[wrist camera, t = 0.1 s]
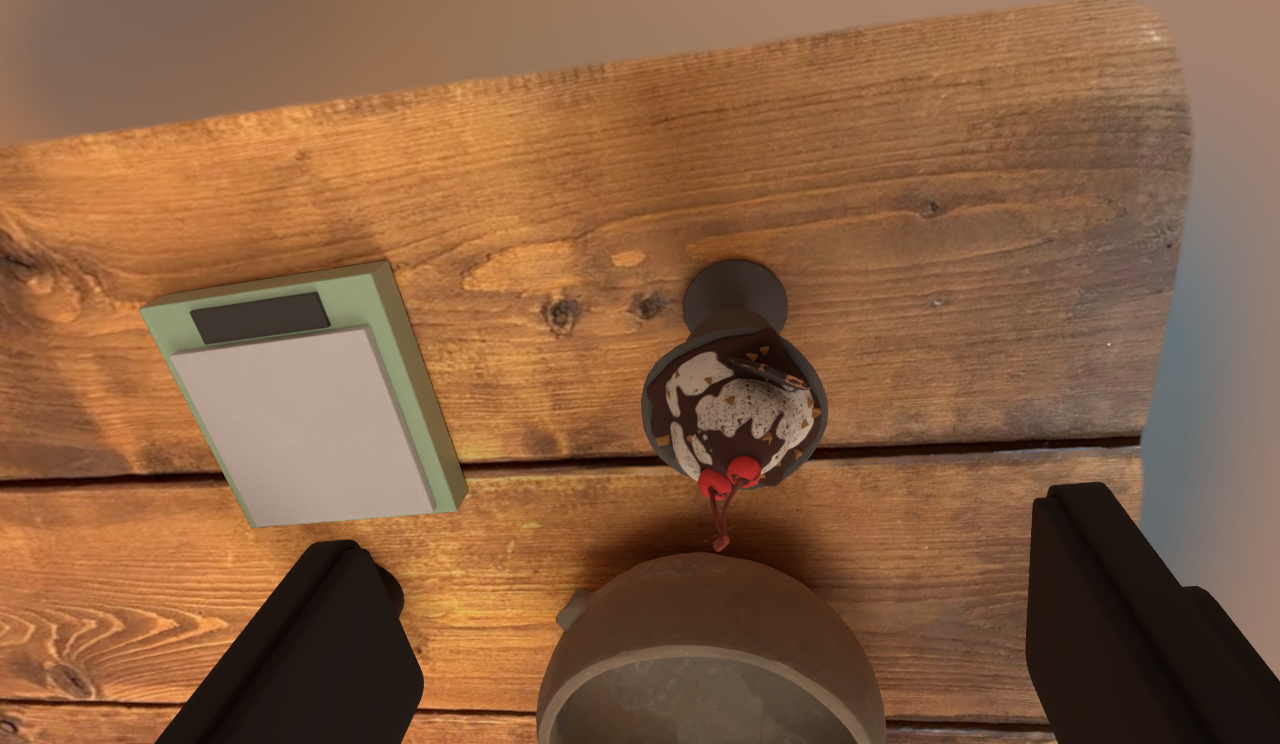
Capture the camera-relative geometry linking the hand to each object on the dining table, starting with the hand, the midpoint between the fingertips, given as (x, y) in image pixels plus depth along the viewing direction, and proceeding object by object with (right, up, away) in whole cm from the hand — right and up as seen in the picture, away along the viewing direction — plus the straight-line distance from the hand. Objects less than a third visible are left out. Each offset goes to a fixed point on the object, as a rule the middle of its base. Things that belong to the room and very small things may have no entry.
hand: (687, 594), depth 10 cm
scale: (-18, +2, +30) cm, 35 cm away
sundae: (+4, +6, +25) cm, 26 cm away
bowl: (+4, -12, +34) cm, 37 cm away
